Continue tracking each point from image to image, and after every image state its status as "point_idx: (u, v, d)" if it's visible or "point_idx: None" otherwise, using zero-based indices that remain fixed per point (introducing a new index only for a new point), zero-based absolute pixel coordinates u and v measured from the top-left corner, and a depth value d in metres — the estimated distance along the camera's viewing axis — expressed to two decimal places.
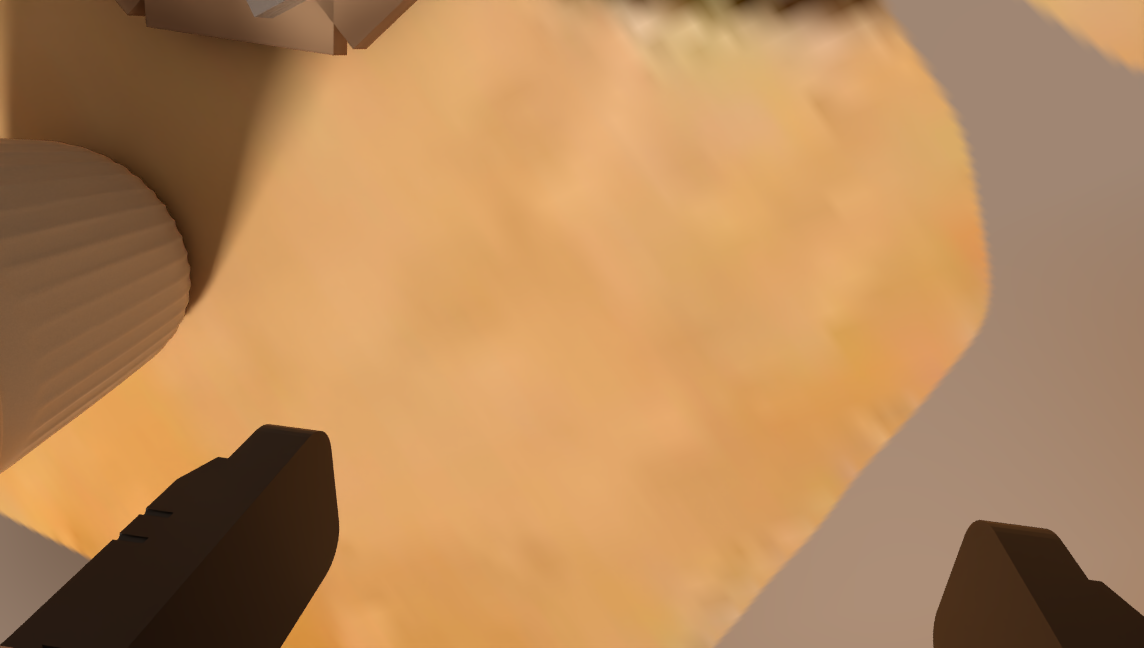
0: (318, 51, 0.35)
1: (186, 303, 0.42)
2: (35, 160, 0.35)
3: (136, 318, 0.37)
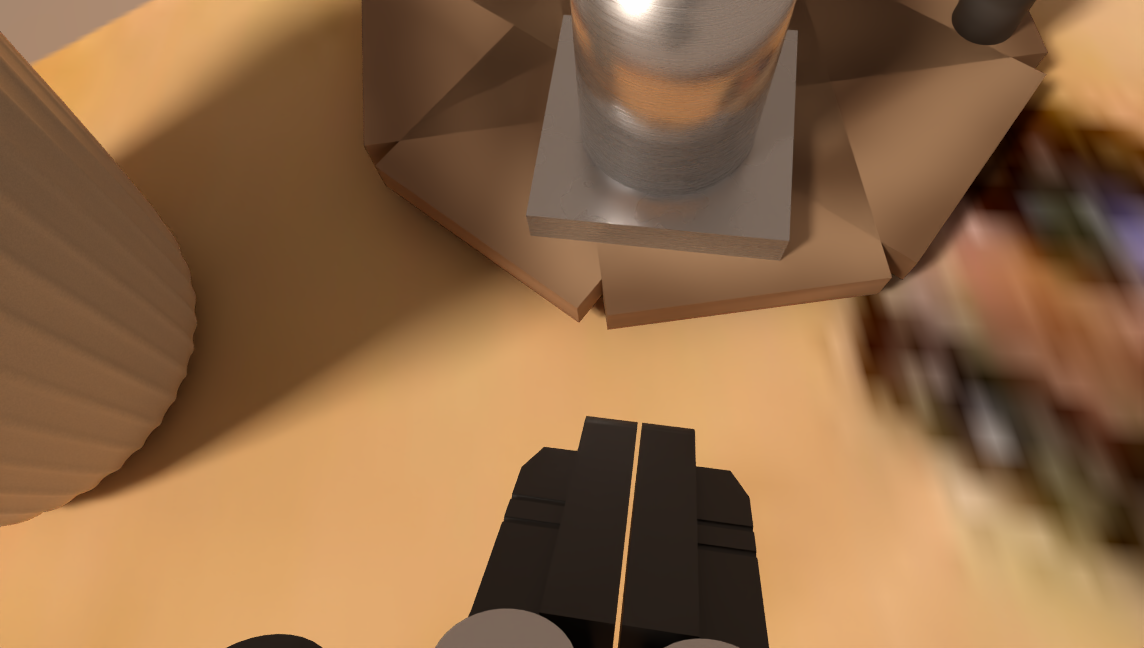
0: (560, 294, 0.25)
1: (89, 488, 0.25)
2: (120, 183, 0.23)
3: (16, 453, 0.20)
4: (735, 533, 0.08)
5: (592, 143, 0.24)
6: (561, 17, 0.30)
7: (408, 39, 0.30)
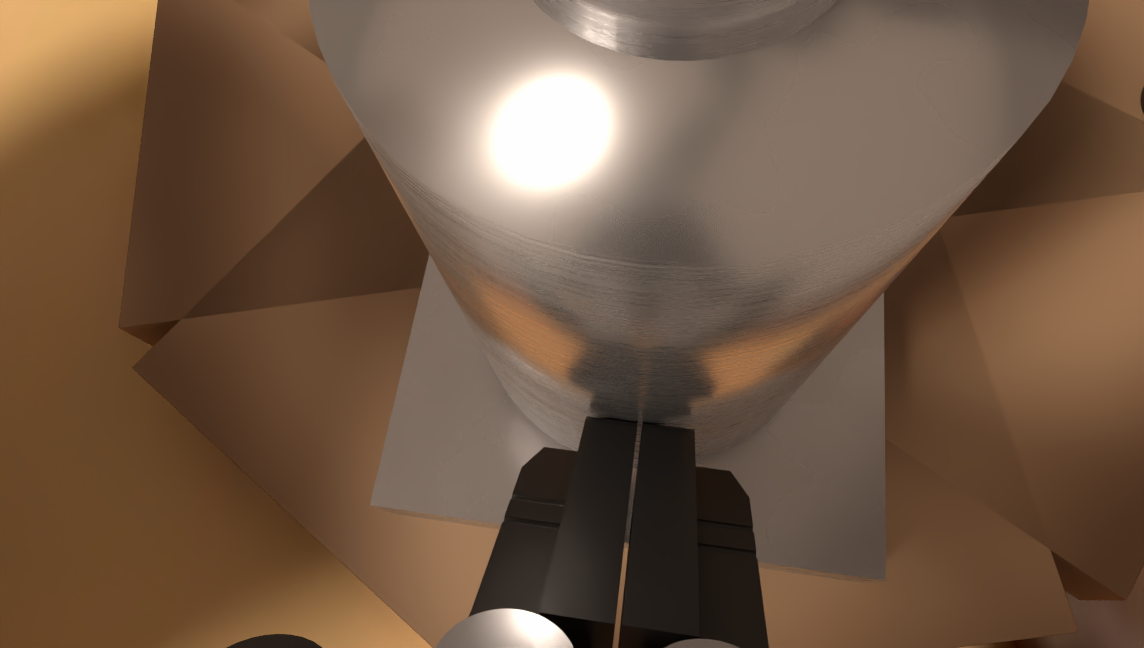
0: None
1: None
2: None
3: None
4: (735, 533, 0.08)
5: (495, 373, 0.12)
6: None
7: (217, 131, 0.18)
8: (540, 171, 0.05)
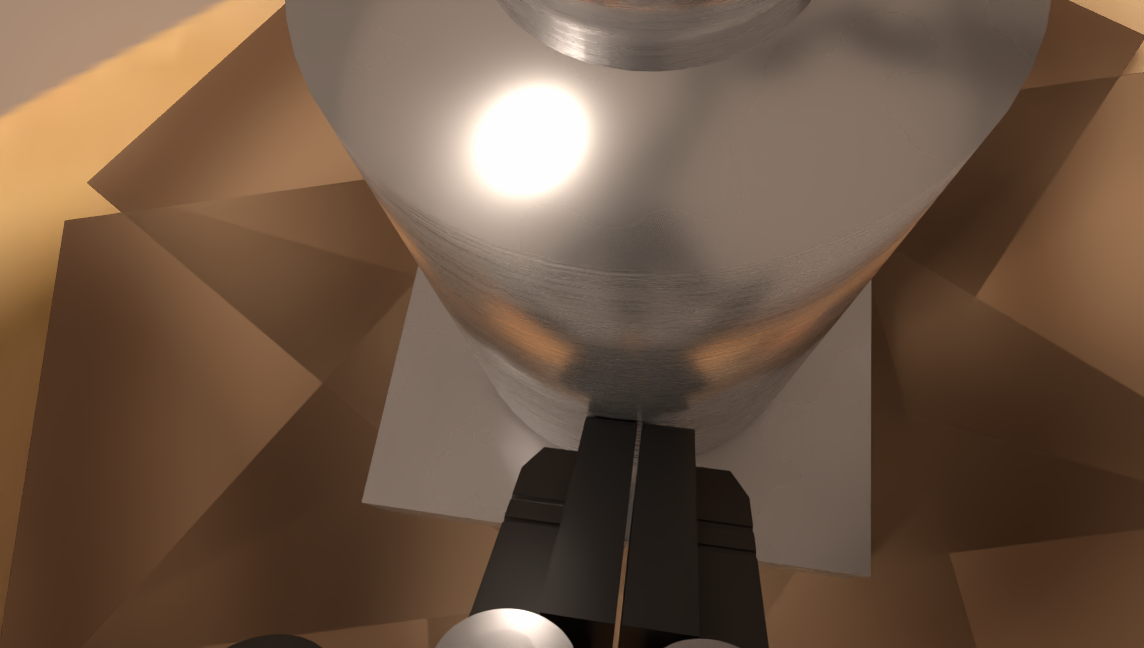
0: None
1: None
2: None
3: None
4: (735, 533, 0.08)
5: None
6: None
7: (121, 408, 0.16)
8: (510, 181, 0.05)
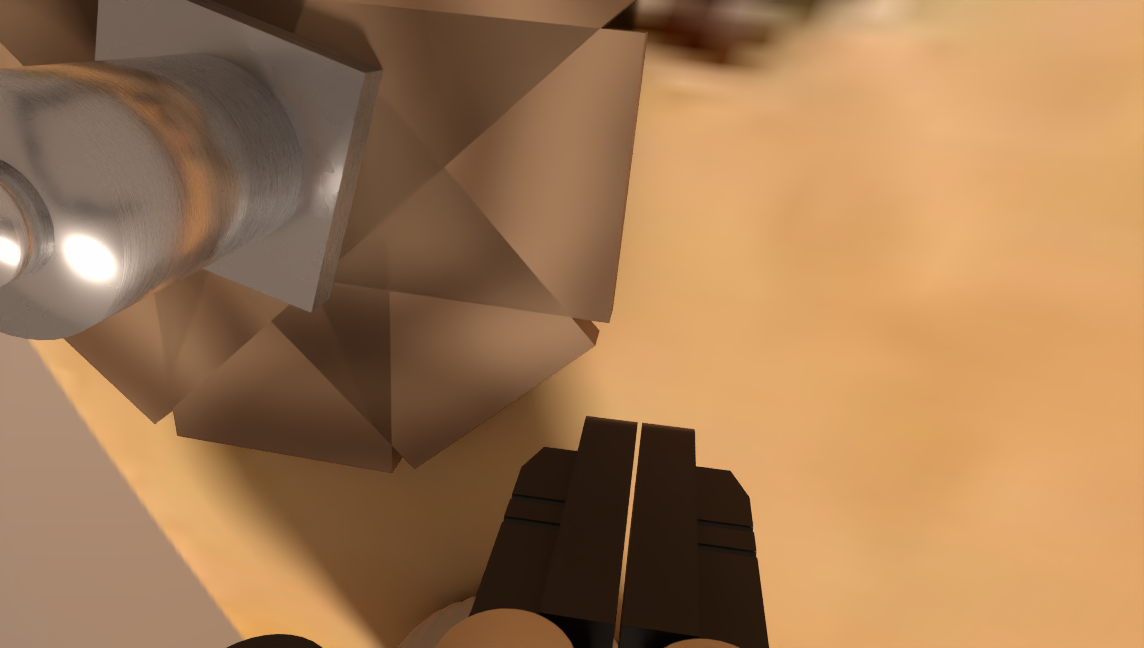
0: (578, 355, 0.27)
1: None
2: None
3: None
4: (735, 533, 0.08)
5: None
6: None
7: (278, 415, 0.30)
8: (95, 286, 0.17)
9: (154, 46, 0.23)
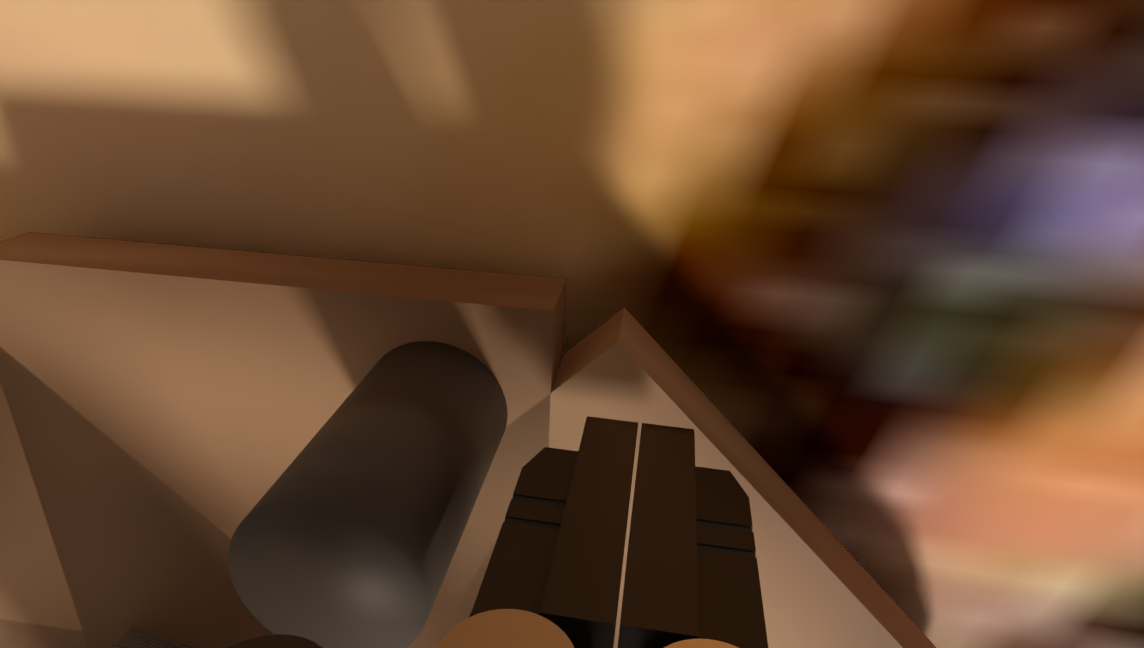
0: None
1: None
2: None
3: None
4: (735, 533, 0.08)
5: None
6: None
7: None
8: None
9: None
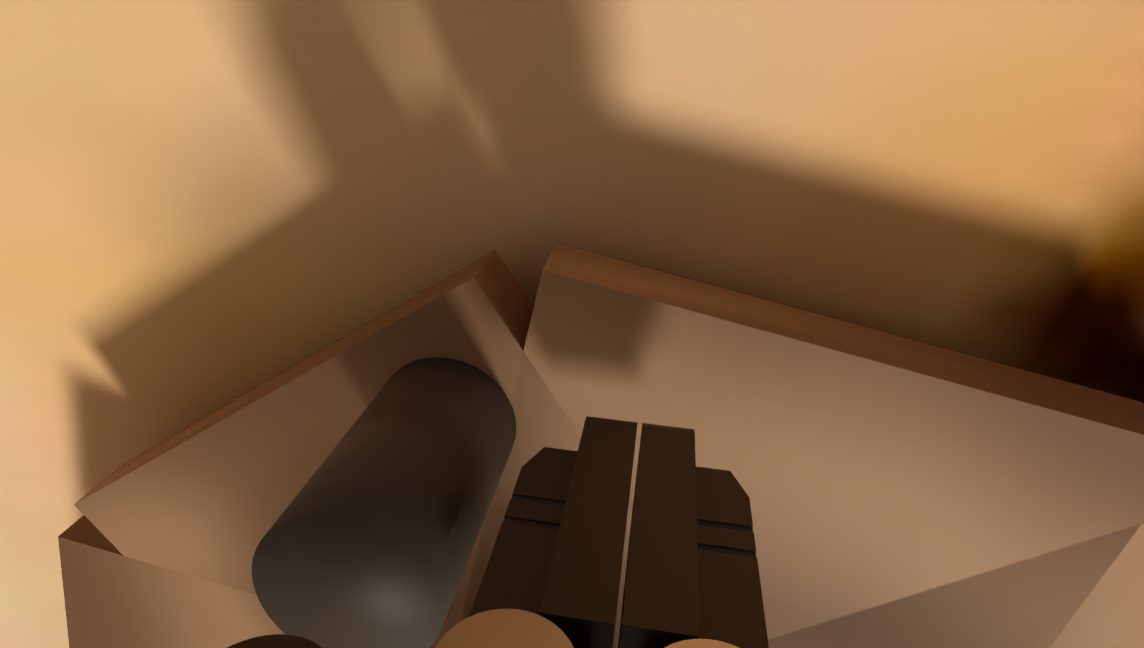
0: None
1: None
2: None
3: None
4: (735, 533, 0.08)
5: None
6: None
7: None
8: None
9: None
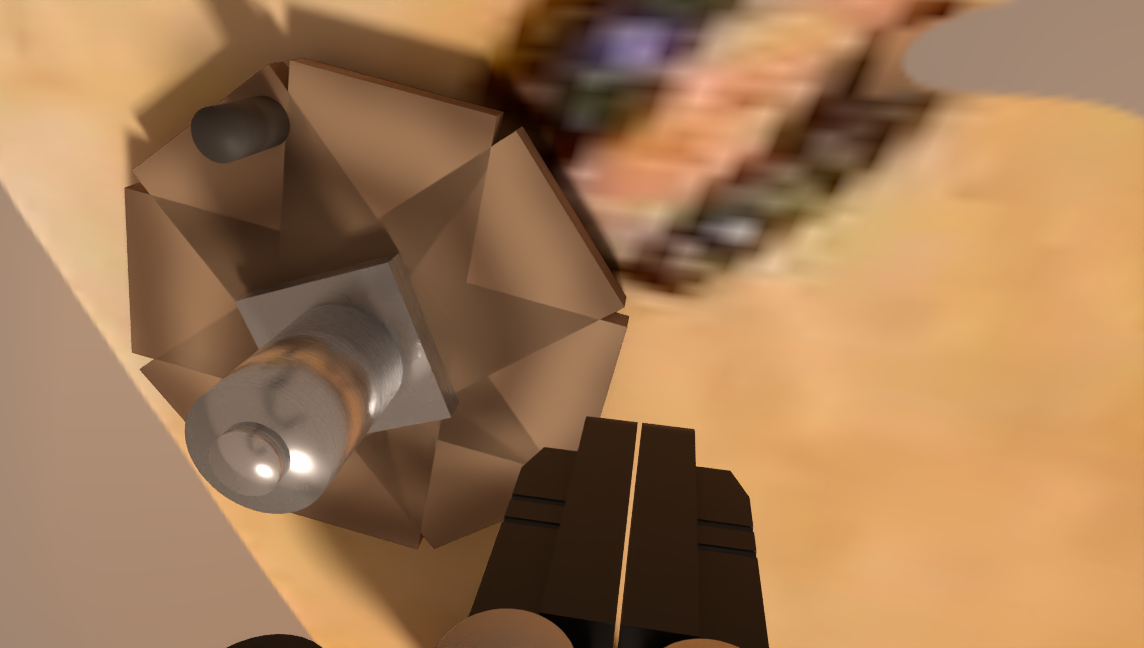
0: (621, 340, 0.36)
1: None
2: None
3: None
4: (735, 533, 0.08)
5: (388, 402, 0.37)
6: None
7: (480, 497, 0.42)
8: (317, 458, 0.29)
9: (282, 324, 0.37)
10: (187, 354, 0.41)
